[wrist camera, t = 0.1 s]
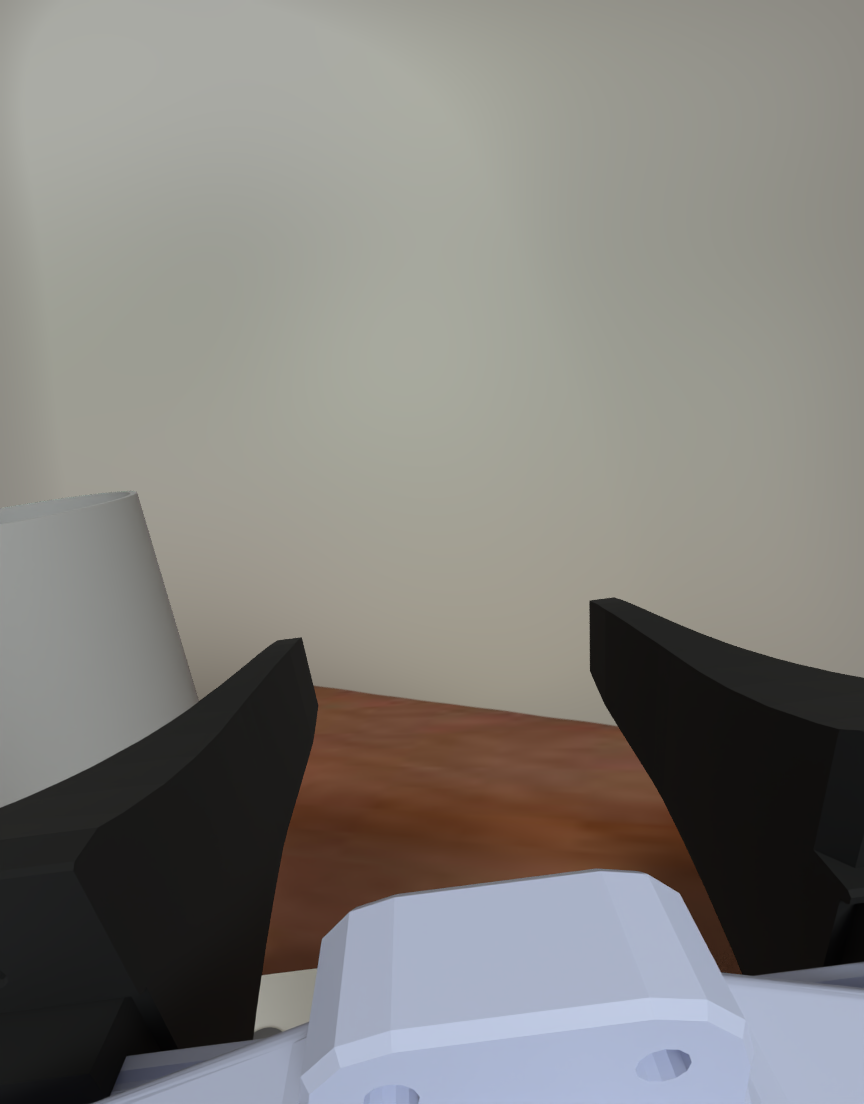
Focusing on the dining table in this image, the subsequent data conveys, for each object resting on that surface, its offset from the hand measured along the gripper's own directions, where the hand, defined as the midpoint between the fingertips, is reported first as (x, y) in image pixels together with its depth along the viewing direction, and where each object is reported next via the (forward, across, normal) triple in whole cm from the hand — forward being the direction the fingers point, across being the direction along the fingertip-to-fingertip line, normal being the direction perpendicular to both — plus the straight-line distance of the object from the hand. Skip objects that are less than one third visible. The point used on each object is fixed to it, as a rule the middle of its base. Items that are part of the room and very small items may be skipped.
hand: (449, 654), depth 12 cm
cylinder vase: (+14, +23, +23) cm, 35 cm away
